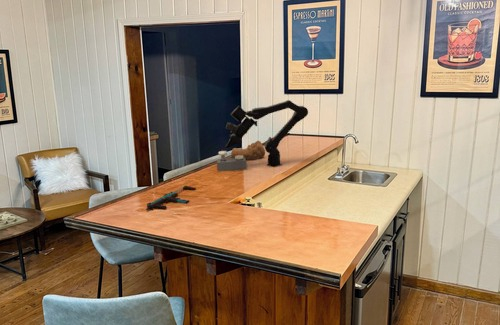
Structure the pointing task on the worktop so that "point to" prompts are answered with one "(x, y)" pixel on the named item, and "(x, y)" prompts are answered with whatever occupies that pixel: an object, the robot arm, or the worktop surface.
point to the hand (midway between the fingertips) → (225, 147)
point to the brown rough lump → (250, 151)
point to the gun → (168, 199)
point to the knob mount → (231, 164)
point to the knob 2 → (239, 157)
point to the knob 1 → (223, 155)
